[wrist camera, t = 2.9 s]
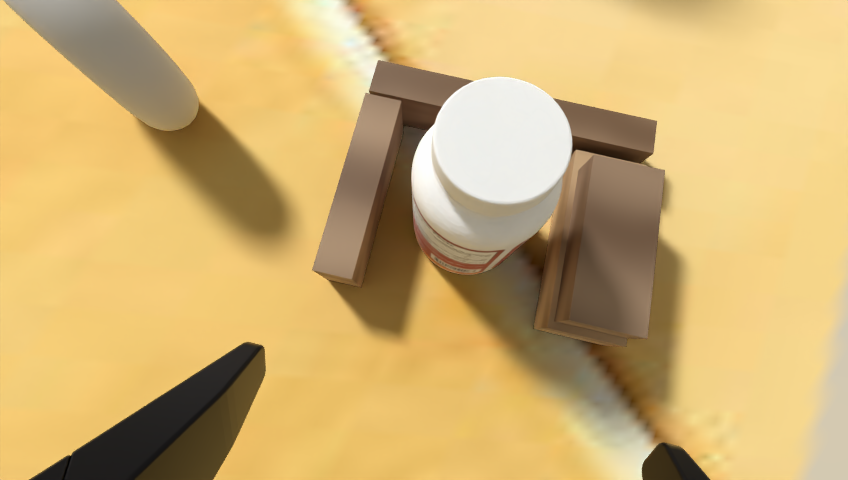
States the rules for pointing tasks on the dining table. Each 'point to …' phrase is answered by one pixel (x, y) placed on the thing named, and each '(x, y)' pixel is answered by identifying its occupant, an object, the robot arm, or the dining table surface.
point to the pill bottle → (488, 173)
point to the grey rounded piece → (115, 57)
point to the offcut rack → (571, 221)
